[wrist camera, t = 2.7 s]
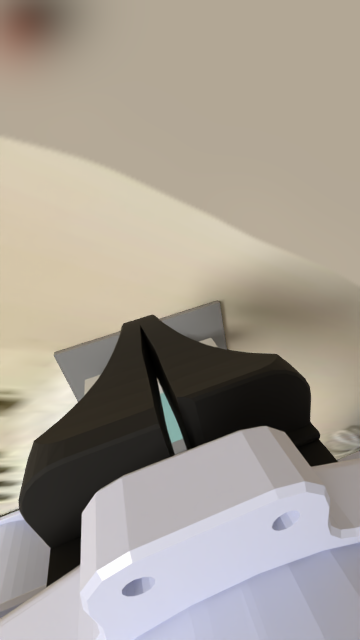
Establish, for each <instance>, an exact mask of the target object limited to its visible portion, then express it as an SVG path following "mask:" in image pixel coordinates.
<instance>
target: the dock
mask: <svg viewBox="0 0 360 640" xmlns="http://www.w3.org/2000/svg"><path fill="white" fill-rule="evenodd" d="M159 320H161V321H162V322H163V323H165V324H166V325H168V326H169V327H171V328H172V329H174V330H175V331H177V332H179V333H181V334H182V335H184V336H186V337H188V338H190V339H193V340H195V341H198V342H199V341H202V340H205V339H208V338H212V340H213V341H214V342H215V344H216V345H217V346H218V348H221V349H226V350H227V347H226V341H225V334H224V328H223V321H222V314H221V308H220V302H219V301H215V302H211V303H208V304H205V305H202V306H199V307H196V308H193V309H189V310H186V311H183V312H180V313H177V314H174V315H170V316H167V317H164V318H161V319H159ZM120 332H121V331H120ZM120 332H117V333H114V334H111V335H108V336H104V337H101V338H98V339H95V340H92V341H89V342H86V343H82V344H79V345H76V346H73V347H70V348H67V349H64V350H60V351H57V352H54V357H55V359H56V361H57V363H58V365H59V366H60V368H61V370H62V372H63V374H64V376H65V378H66V380H67V382H68V383H69V385H70V387H71V389H72V391H73V393H74V395H75V397H76V399H77V401H78V402H79V401H80V400H81V399H82V398H83V397H84V392H85V380H86V379H89V378H92V377H95V376H98V375H101V374H102V372H103V370H104V369H105V367H106V365H107V363H108V361H109V359H110V357H111V355H112V353H113V351H114V348H115V346H116V343H117V341H118V338H119V335H120ZM172 446H173V450H174V453H175V455H177V454H180V453H182V452H185V451H187V449H186V446H185V443H184V440H183V439H181V440H178V441H176V442H173V443H172Z"/></svg>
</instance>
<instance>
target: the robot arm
mask: <svg viewBox="0 0 360 640" xmlns="http://www.w3.org/2000/svg"><path fill="white" fill-rule="evenodd" d="M157 379H158V381H159V383H160V386H161V388H162V390H163V392H164V394H165V397H166V399H167V401H168V403H169V405H170V407H171V410H172V412H173V414H174V416H175V418H176V421H177V423H178V426H179V428H180V431H181V434H182V437H183V440H184V443H185V446H186V449H187V451H185V452H182V453H180V454H177V455H175V453H174V450H173V446H172V443H171V440H170V437H169V433H168V430H167V425H166V421H165V416H164V411H163V406H162V401H161V396H160V391H159V386H158V381H157ZM310 408H311V393H310V386H309V385H308V383H307V381H306V379H305V378H304V377H303V376H302V375H301V374H300V373H299V372H298V371H297V370H296V369H295V368H293V367H292V366H291V365H290V364H289V363H288V362H286V361H285V360H284V359H282V358H281V357H280V356H279V355H277V354H262V353H246V352H238V351H231V350H226V349H221V348H217V347H213V346H210V345H206V344H203V343H201V342H198V341H195V340H193V339H190V338H188V337H186V336H184V335H182V334H181V333H179V332H177V331H175V330H174V329H172V328H171V327H169V326H168V325H166V324H165V323H163V322H162V321H161V320H159V319H158V318H157V317H156V316H154V315H149V316H146V317H143V318H140V319H137V320H134V321H130V322H127V323H124V324H123V326H122V328H121V332H120V335H119V338H118V341H117V343H116V346H115V348H114V351H113V353H112V355H111V357H110V359H109V361H108V363H107V365H106V367H105V369H104V370H103V372H102V374H101V375H100V376H99V378H98V379H97V381H96V382H95V383H94V385H93V386H92V387H91V388H90V389H89V391H88V392H87V393H86V394H85V395H84V397H83V398H82V399H81V400H80V401H79V402H78V403H77V404H76V405H75V406H74V407H73V408H72V409H71V410H70V411H69V412H68V413H67V414H66V415H65V416H64V417H63V418H61V419H60V420H59V421H58V422H57V423H56V424H54V425H53V426H52V427H51V428H50V429H48V430H47V431H46V432H45V433H43V434H42V435H41V436H40V437H38V438H37V439H36V440H34V443H33V446H32V449H31V452H30V455H29V458H28V461H27V465H26V469H25V474H24V478H23V483H22V487H21V492H20V496H19V510H18V511H15V512H13V513H10V514H8V515H5V516H2V517H0V640H360V451H357V452H355V453H353V454H350V455H348V456H346V457H343V458H341V459H339V460H336V459H335V458H334V456H333V455H332V454H331V453H330V452H329V451H328V449H327V448H326V447H325V446H324V445H323V444H322V442H321V441H320V440H319V438H320V434H319V431H318V430H317V429H316V428H315V427H314V426H313V425H312V424H311V422H310Z"/></svg>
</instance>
